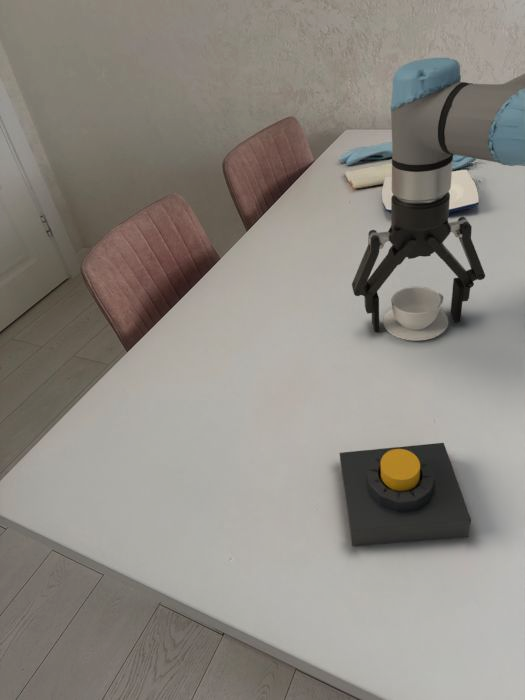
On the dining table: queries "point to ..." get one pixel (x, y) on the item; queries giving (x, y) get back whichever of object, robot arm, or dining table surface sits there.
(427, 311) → the teacup
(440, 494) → the yellow button cap base
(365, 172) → the rubber gloves
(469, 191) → the plate
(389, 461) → the yellow button cap
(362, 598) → the dining table surface
